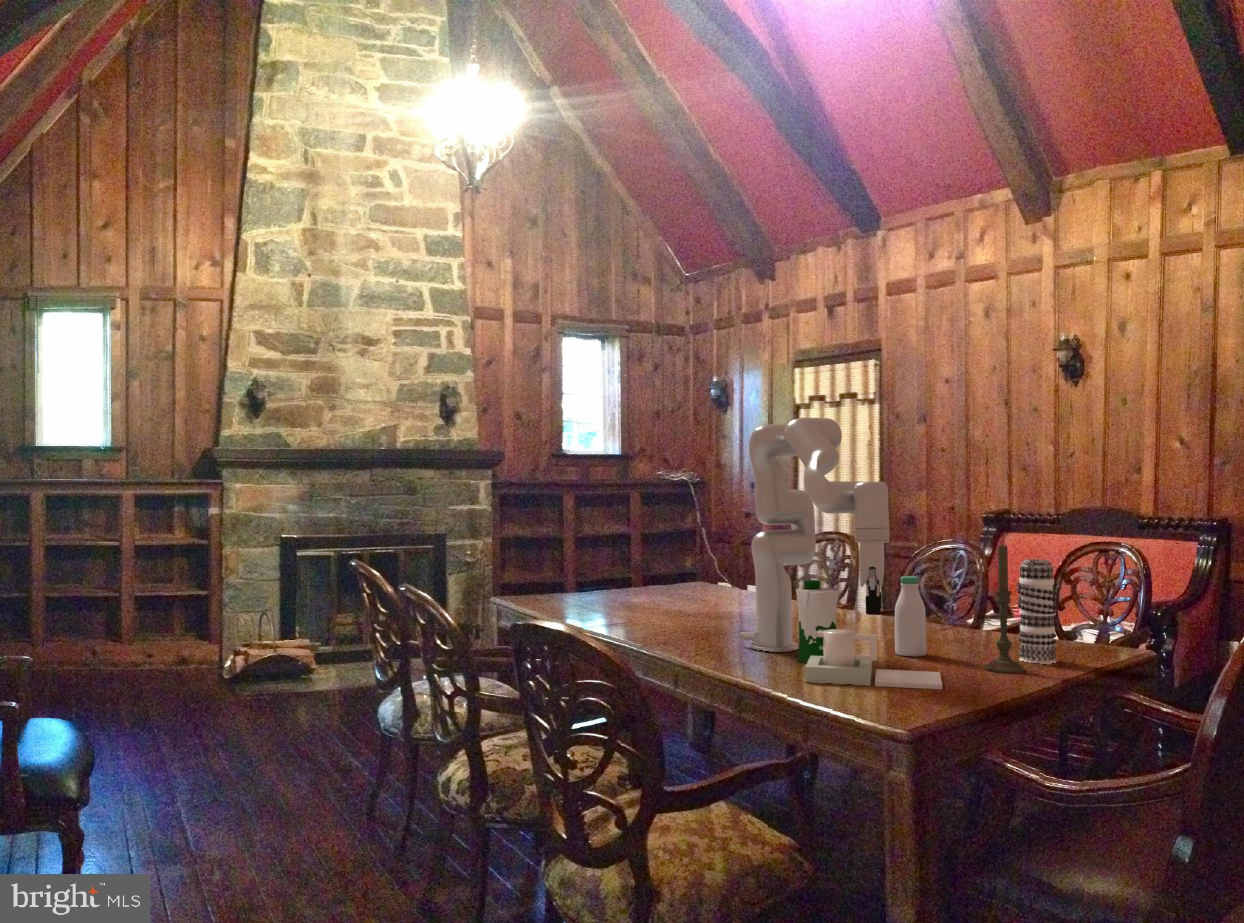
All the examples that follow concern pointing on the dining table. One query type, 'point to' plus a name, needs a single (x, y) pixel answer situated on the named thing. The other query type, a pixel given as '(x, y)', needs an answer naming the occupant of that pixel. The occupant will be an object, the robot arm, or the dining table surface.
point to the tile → (908, 679)
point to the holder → (838, 672)
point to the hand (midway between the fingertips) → (873, 611)
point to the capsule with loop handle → (845, 647)
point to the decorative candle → (1037, 611)
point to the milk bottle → (910, 619)
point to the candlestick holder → (1003, 619)
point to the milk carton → (815, 617)
